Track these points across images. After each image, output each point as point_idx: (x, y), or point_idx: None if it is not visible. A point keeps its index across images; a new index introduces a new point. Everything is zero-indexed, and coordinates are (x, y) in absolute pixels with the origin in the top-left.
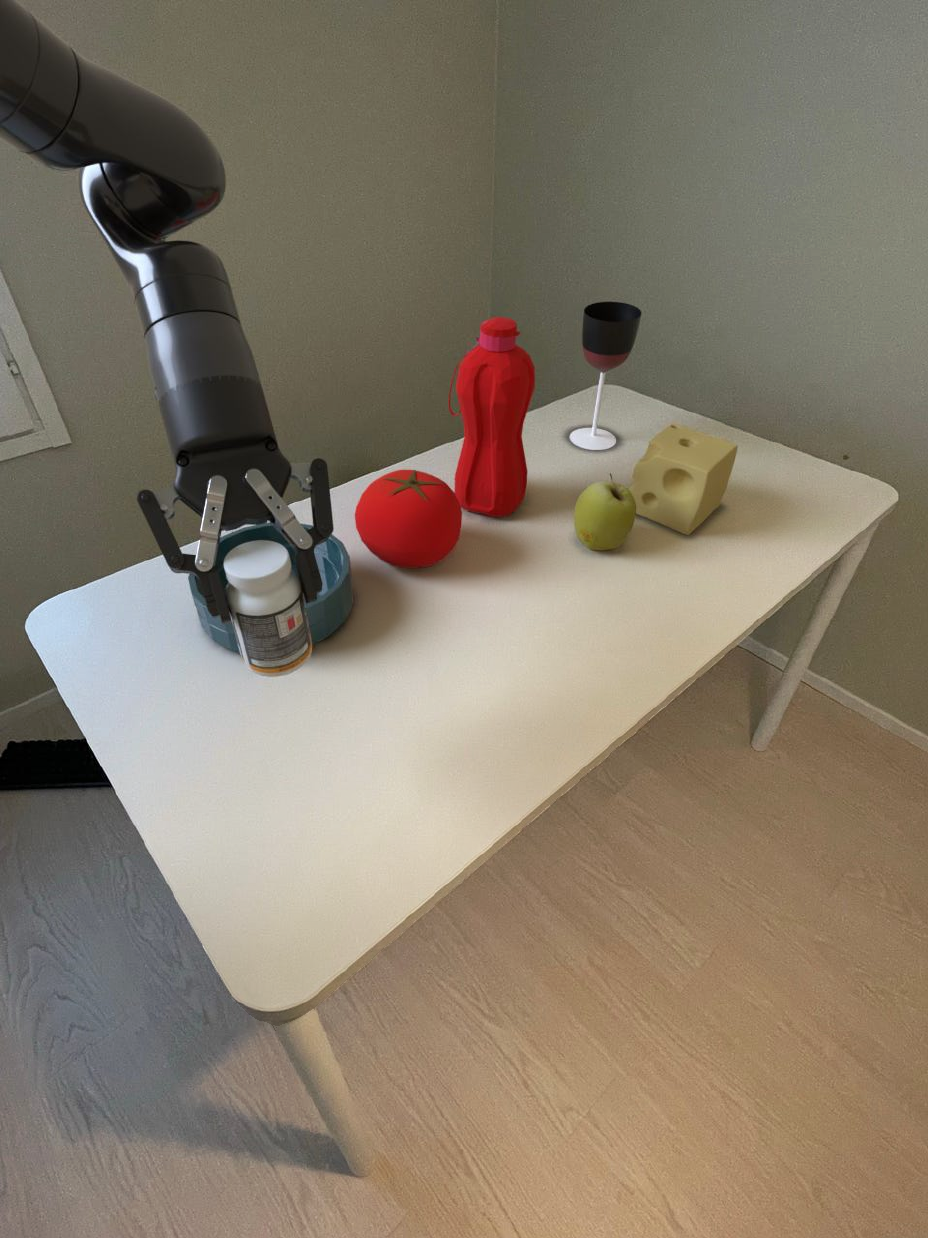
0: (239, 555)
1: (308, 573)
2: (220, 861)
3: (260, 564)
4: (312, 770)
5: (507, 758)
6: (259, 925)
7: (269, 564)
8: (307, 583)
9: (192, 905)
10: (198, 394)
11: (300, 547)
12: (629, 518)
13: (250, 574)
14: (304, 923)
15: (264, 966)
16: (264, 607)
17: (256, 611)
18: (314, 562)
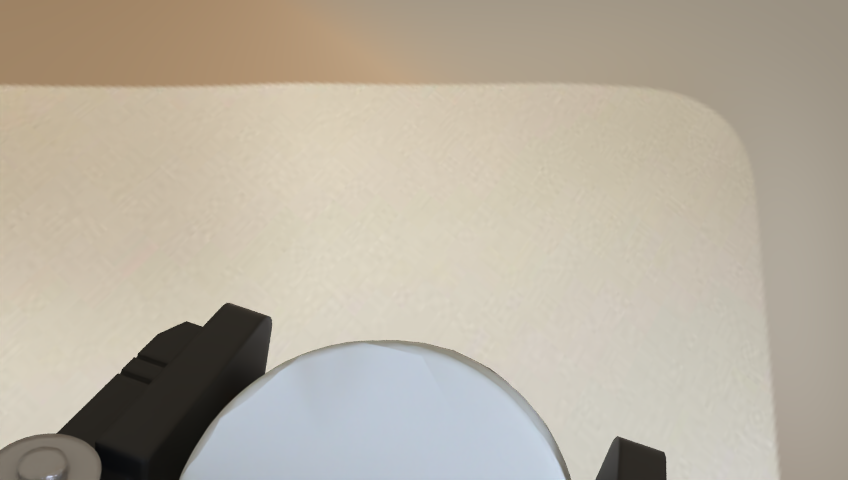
0: None
1: (181, 365)
2: (686, 383)
3: (385, 465)
4: None
5: (95, 189)
6: (679, 223)
7: (344, 426)
8: (223, 342)
9: (766, 336)
10: None
11: (97, 459)
12: None
13: (485, 414)
14: (614, 176)
15: (703, 160)
16: (470, 363)
17: (506, 382)
18: (102, 403)
